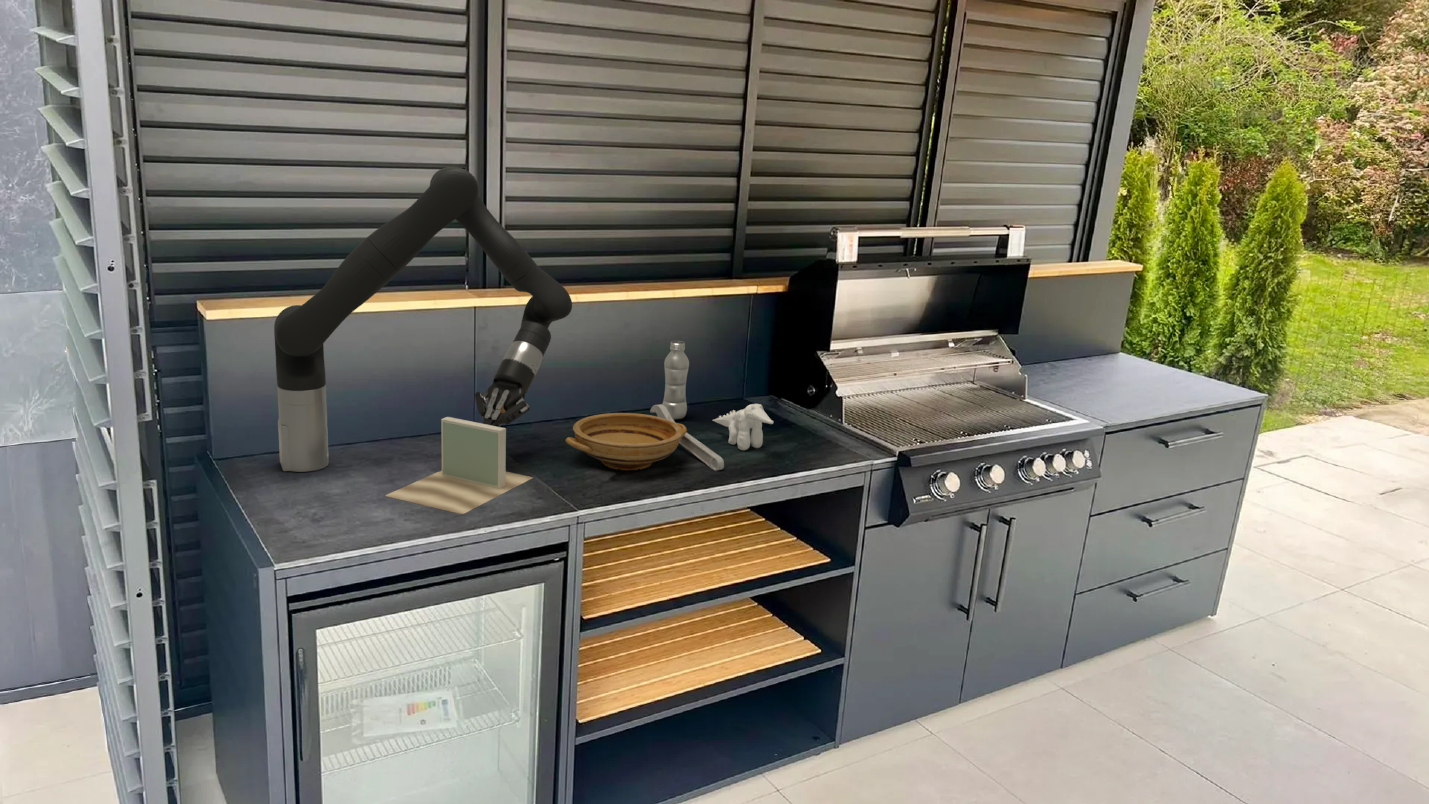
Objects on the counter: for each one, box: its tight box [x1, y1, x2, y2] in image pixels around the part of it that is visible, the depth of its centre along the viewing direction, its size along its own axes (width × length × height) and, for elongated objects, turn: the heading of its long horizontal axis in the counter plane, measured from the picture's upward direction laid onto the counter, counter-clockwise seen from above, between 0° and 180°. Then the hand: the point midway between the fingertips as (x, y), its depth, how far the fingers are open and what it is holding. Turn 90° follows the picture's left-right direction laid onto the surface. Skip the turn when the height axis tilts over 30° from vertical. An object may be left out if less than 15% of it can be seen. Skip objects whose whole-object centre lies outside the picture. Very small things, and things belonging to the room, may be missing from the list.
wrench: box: [649, 403, 725, 472], centre depth 242 cm, size 8×2×30 cm
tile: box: [440, 416, 507, 489], centre depth 210 cm, size 14×2×12 cm, turn 67°
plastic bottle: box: [661, 340, 690, 420], centre depth 266 cm, size 6×7×20 cm
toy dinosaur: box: [712, 403, 774, 451], centre depth 250 cm, size 7×24×11 cm, turn 35°
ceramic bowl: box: [565, 412, 688, 471], centre depth 232 cm, size 30×24×8 cm
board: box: [384, 469, 534, 515], centre depth 208 cm, size 24×18×2 cm
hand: (484, 437), depth 213 cm, fingers closed
